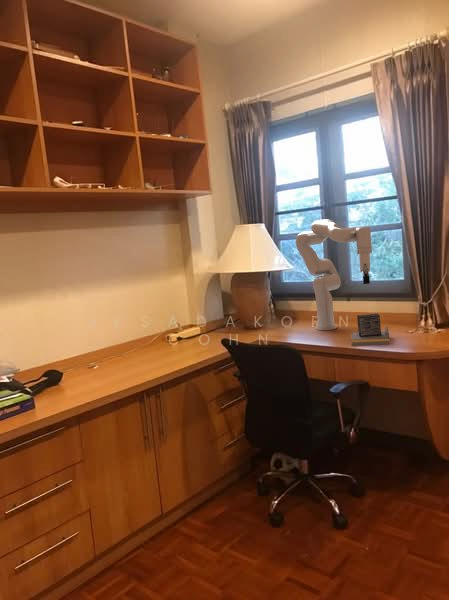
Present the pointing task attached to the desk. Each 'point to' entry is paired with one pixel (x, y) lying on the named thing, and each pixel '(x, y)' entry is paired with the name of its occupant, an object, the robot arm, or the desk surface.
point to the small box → (369, 325)
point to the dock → (371, 339)
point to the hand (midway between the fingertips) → (366, 282)
